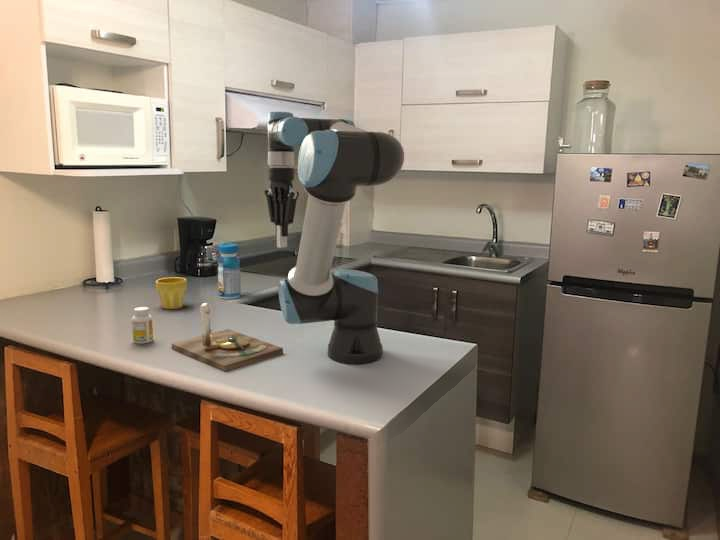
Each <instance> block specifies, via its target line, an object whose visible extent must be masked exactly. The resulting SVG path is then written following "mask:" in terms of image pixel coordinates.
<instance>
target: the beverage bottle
mask: <svg viewBox="0 0 720 540" xmlns="http://www.w3.org/2000/svg"><path fill="white" fill-rule="evenodd" d="M218 248H219V249H218V251H219V252H218V253H219V255H220V256H219V258H218V259H217V265H218V267H217V279H218V281H217V282H218V297H219V298H220V299H223V300H233V299H238V298H240V297H241V295H242V292H241V267H240V263H241V261H240V259H239V256H238V253H239V250H238V248H239V246H238V244H236V243H221V244H219V246H218Z"/></svg>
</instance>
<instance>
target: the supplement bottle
mask: <svg viewBox="0 0 720 540" xmlns="http://www.w3.org/2000/svg"><path fill="white" fill-rule="evenodd" d="M149 313H150V308H149V307H147V306H140V307H135V308H133V314H134V315H133V316H132V318H131V323H132V339H133V342H134V343H135V344H149V343H151V342H152V341H153V340H154V332H153V319H152V318H153V317H152V315H151V314H149Z"/></svg>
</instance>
